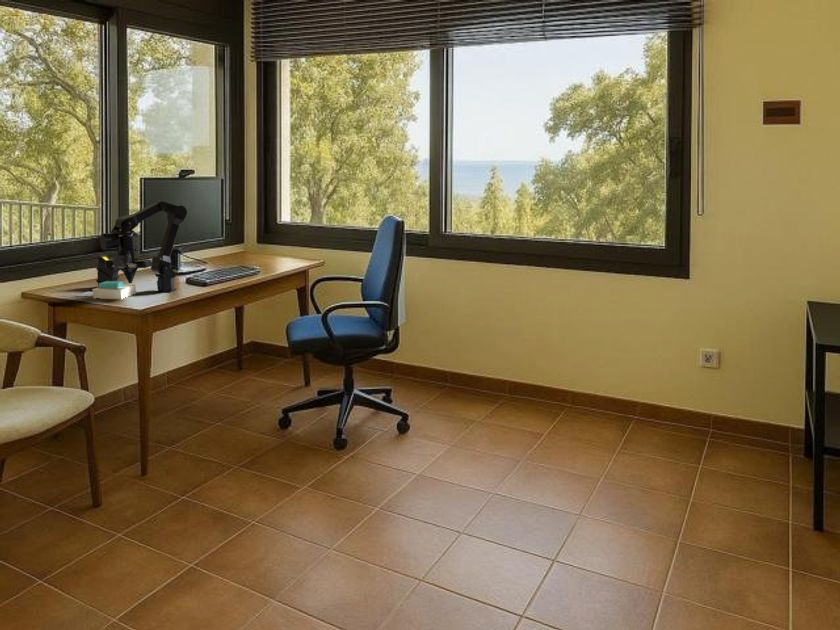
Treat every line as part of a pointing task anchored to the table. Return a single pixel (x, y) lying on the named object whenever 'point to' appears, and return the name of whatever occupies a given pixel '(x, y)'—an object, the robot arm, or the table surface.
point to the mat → (86, 294)
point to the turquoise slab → (111, 284)
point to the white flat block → (114, 292)
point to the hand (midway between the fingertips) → (130, 283)
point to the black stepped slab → (106, 271)
